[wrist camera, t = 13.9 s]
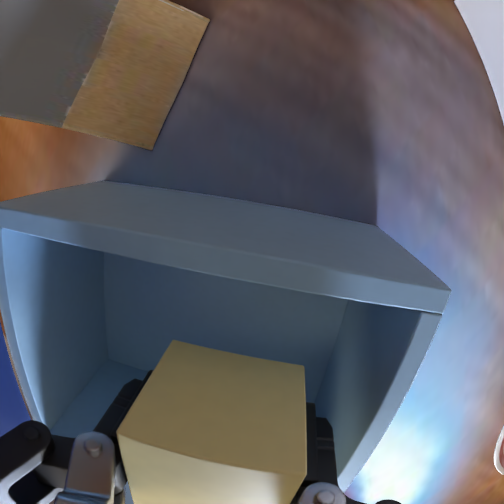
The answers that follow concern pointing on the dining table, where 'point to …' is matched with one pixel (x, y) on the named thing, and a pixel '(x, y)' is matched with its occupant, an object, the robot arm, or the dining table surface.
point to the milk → (487, 39)
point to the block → (216, 430)
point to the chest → (210, 302)
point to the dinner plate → (499, 453)
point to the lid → (9, 394)
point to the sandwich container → (96, 64)
